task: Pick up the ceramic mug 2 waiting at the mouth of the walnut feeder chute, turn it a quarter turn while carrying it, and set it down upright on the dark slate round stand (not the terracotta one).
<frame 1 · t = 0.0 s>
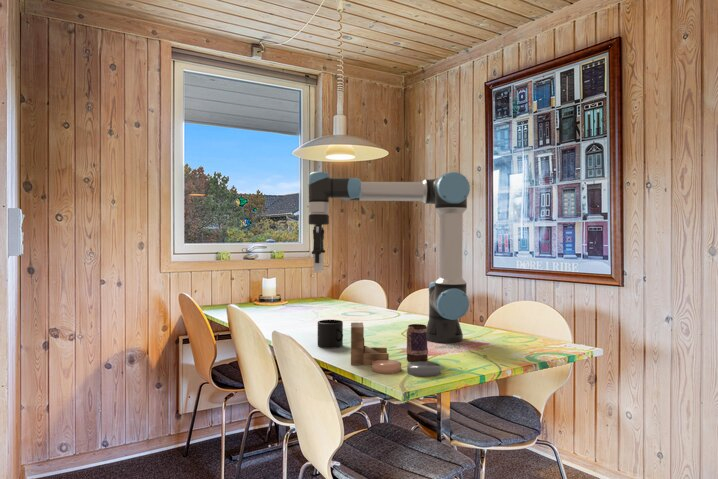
hand: (318, 271, 186), 28 cm above the table, fingers open, 13 cm apart
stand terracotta: (386, 369, 154), on the table
stand slate: (423, 372, 151), on the table
mug 2: (414, 362, 164), on the table
feeder: (375, 361, 164), on the table
mug: (332, 346, 187), on the table
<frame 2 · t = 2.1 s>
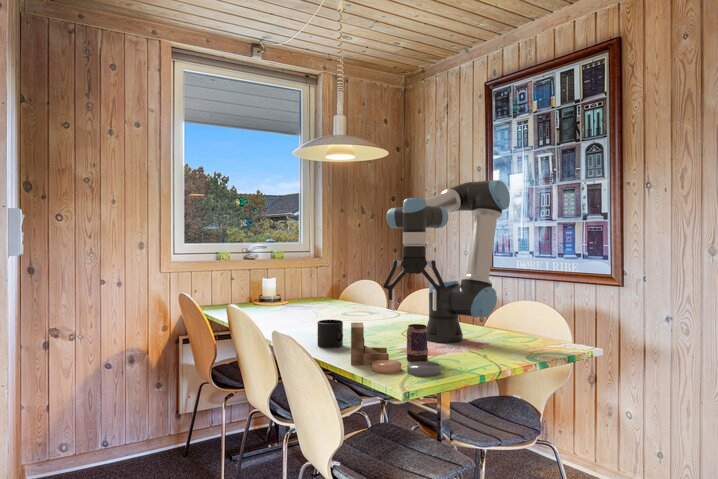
hand: (413, 310, 164), 17 cm above the table, fingers open, 13 cm apart
nothing on the table moved.
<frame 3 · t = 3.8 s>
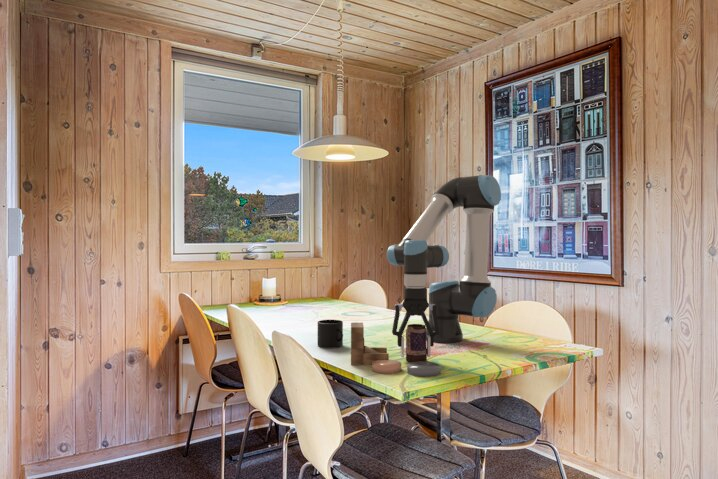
hand: (415, 356, 164), 2 cm above the table, fingers open, 8 cm apart
mug 2: (414, 362, 164), on the table, touching gripper
everything else where it was.
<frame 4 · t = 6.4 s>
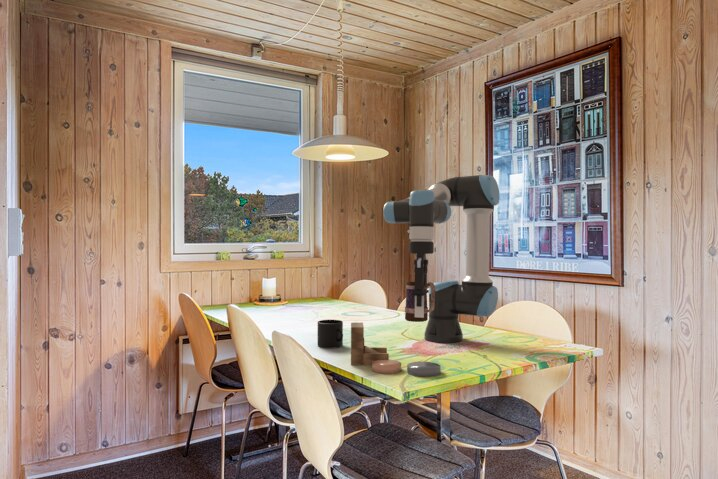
hand: (420, 315, 154), 17 cm above the table, fingers closed on mug 2, 7 cm apart
mug 2: (420, 321, 153), point 15 cm above the table, touching gripper
everything else where it was.
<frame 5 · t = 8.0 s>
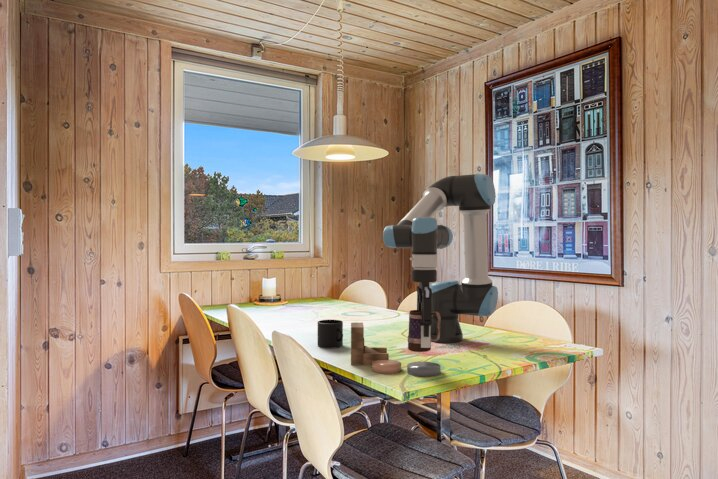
hand: (423, 344, 151), 8 cm above the table, fingers closed on mug 2, 7 cm apart
mug 2: (424, 351, 150), point 7 cm above the table, touching gripper
everything else where it was.
when the fingers open (5 cm above the table, at t = 9.0 s): mug 2 drops 1 cm, resting on stand slate.
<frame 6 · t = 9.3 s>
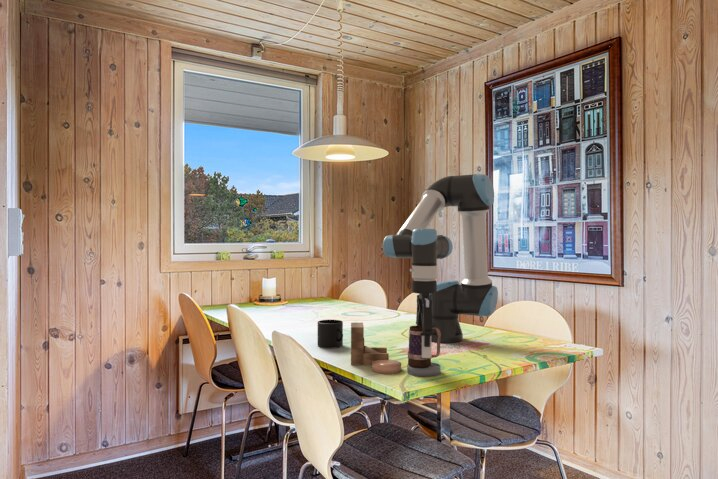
hand: (423, 353, 151), 6 cm above the table, fingers open, 10 cm apart
mug 2: (424, 366, 150), point 2 cm above the table, touching stand slate
everything else where it was.
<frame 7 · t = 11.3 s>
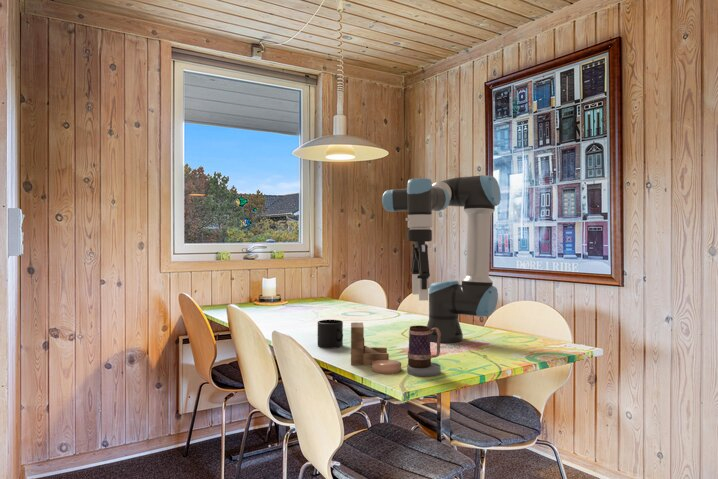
hand: (420, 297, 155), 22 cm above the table, fingers open, 13 cm apart
nothing on the table moved.
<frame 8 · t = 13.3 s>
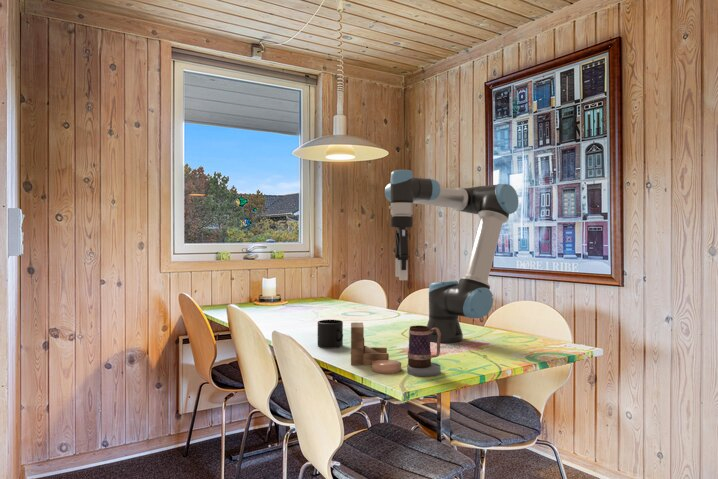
hand: (401, 278, 170), 27 cm above the table, fingers open, 13 cm apart
nothing on the table moved.
at the end: mug 2 0.8 cm from the stand slate (horizontally); mug 2 tilted 0°; mug 2 touching stand slate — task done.
